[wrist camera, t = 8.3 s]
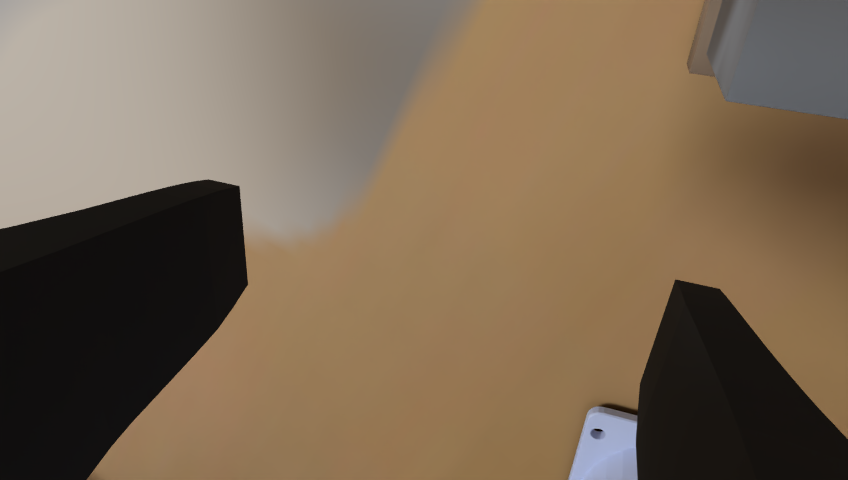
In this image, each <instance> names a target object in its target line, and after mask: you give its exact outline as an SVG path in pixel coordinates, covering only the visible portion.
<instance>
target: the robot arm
mask: <svg viewBox="0 0 848 480" xmlns="http://www.w3.org/2000/svg"><path fill="white" fill-rule="evenodd" d="M247 285H248V280H247V268H246V257H245V245H244V234H243V222H242V211H241V199H240V188H239V186H236V185H232V184H227V183H222V182H217V181H213V180H202V181H194V182H189V183H184V184H179V185H175V186H170V187H166V188H162V189H158V190H155V191H150V192H146V193H143V194H139V195H135V196H131V197H128V198H124V199H120V200H116V201H113V202H109V203H105V204H102V205H98V206H94V207H90V208H87V209H83V210H79V211H75V212H71V213H66V214H62V215H58V216H54V217H50V218H46V219H42V220H37V221H33V222H29V223H25V224H21V225H17V226H12V227H9V228H3V229H0V480H86V479H87V478H88V477H89V476H90V474H91V473H92V472H93V470H94V469H95V468H96V466H97V465H98V464H99V462H100V461H101V460H102V458H103V457H104V456H105V454H106V453H107V452H108V450H109V449H110V448H111V446H112V445H113V444H114V443H115V442H116V440H117V439H118V438H119V437H120V436H121V434H122V433H123V432H124V431H125V430H126V429H127V427H128V426H129V425H130V424H131V423H132V422H133V421H134V420H135V418H136V417H137V416H138V415H139V414H140V413H141V412H142V411H143V410H144V409H145V408H146V407H147V406H148V404H149V403H150V402H151V401H152V400H153V399H154V398H155V397H156V396H157V395H158V394H159V393H160V392H161V390H162V389H163V388H164V387H165V386H166V385H167V384H168V383H169V382H170V381H171V380H172V379H173V378H174V376H175V375H176V374H177V373H178V372H179V371H180V370H181V369H182V368H183V367H184V366H185V365H186V364H187V362H188V361H189V360H190V359H191V358H192V357H193V356H194V355H195V354H196V353H197V351H198V350H199V349H200V348H201V347H202V346H203V345H204V344H205V343H206V342H207V340H208V339H209V338H210V337H211V336H212V335H213V334H214V333H215V331H216V330H217V329H218V328H219V327H220V325H221V324H222V322H223V321H224V319H225V318H226V317H227V315H228V314H229V312H230V311H231V310H232V308H233V307H234V305H235V304H236V302H237V300H238V299H239V297H240V296H241V294H242V293H243V291H244V290H245V288H246V287H247ZM595 428H596V429H601V430H603V431H595V430H593V429H595ZM568 480H848V439H847V438H846V437H845V436H844V435H843V434H842V433H841V432H840V431H839V430H838V428H837V427H836V426H835V425H834V424H833V423H832V422H831V421H830V420H829V419H828V418H827V417H826V416H825V415H824V414H823V413H822V412H821V410H820V409H819V408H818V407H817V406H816V405H815V404H814V403H813V402H812V400H811V399H810V398H809V397H808V396H807V395H806V394H805V393H804V391H803V390H802V389H801V388H800V387H799V386H798V385H797V383H796V382H795V381H794V380H793V379H792V378H791V376H790V375H789V374H788V373H787V372H786V370H785V369H784V368H783V367H782V366H781V364H780V363H779V362H778V361H777V360H776V358H775V357H774V356H773V355H772V353H771V352H770V351H769V350H768V349H767V347H766V346H765V345H764V344H763V342H762V341H761V340H760V339H759V337H758V336H757V335H756V334H755V332H754V331H753V330H752V328H751V327H750V326H749V325H748V323H747V322H746V321H745V320H744V318H743V317H742V316H741V315H740V313H739V312H738V311H737V309H736V308H735V307H734V306H733V304H732V303H731V302H730V301H729V299H728V298H727V297H726V296H725V295H724V294H723V292H722V291H721V290H720V289H717V288H713V287H708V286H703V285H699V284H694V283H689V282H685V281H680V280H675V282H674V285H673V288H672V291H671V294H670V297H669V300H668V303H667V306H666V309H665V312H664V315H663V318H662V321H661V324H660V326H659V329H658V332H657V335H656V338H655V341H654V344H653V347H652V350H651V353H650V356H649V359H648V362H647V365H646V368H645V371H644V374H643V377H642V379H641V382H640V392H639V404H638V415H633V414H629V413H625V412H621V411H618V410H614V409H610V408H606V407H600V406H598V407H593V408H592V409H590V410H589V411H588V413H587V416H586V419H585V423H584V426H583V430H582V433H581V437H580V440H579V444H578V447H577V451H576V454H575V458H574V461H573V465H572V468H571V472H570V475H569V479H568Z"/></svg>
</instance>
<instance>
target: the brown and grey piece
mask: <svg viewBox="0 0 848 480" xmlns="http://www.w3.org/2000/svg"><path fill="white" fill-rule="evenodd" d="M687 66H688V70H689V73H693V74H700V75H707V76H714V77H716V79H717V81H718V83H719V86H720V88H721V91H722V93H723V96H724V98H725V101H729V102H736V103H743V104H749V105H756V106H763V107H769V108H776V109H783V110H789V111H796V112H803V113H809V114H816V115H823V116H829V117H836V118H843V119H848V0H705V2H704V5H703V9H702V12H701V16H700V19H699V23H698V26H697V30H696V33H695V37H694V40H693V44H692V47H691V51H690V54H689V58H688V61H687Z"/></svg>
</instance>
